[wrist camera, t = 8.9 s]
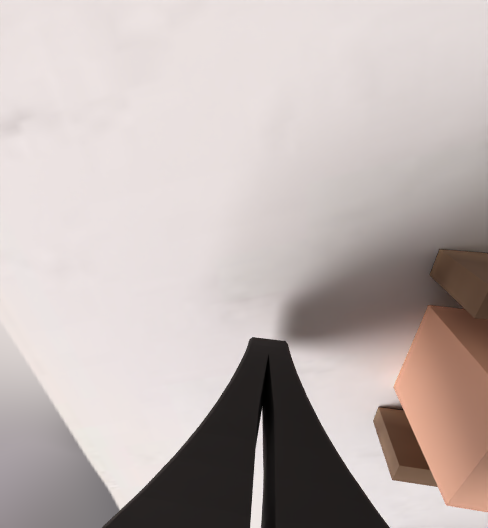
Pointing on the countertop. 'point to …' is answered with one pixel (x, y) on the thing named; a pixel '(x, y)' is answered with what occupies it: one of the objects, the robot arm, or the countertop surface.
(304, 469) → the robot arm
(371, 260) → the countertop surface
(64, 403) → the countertop surface
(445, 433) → the terracotta block
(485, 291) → the walnut bay
